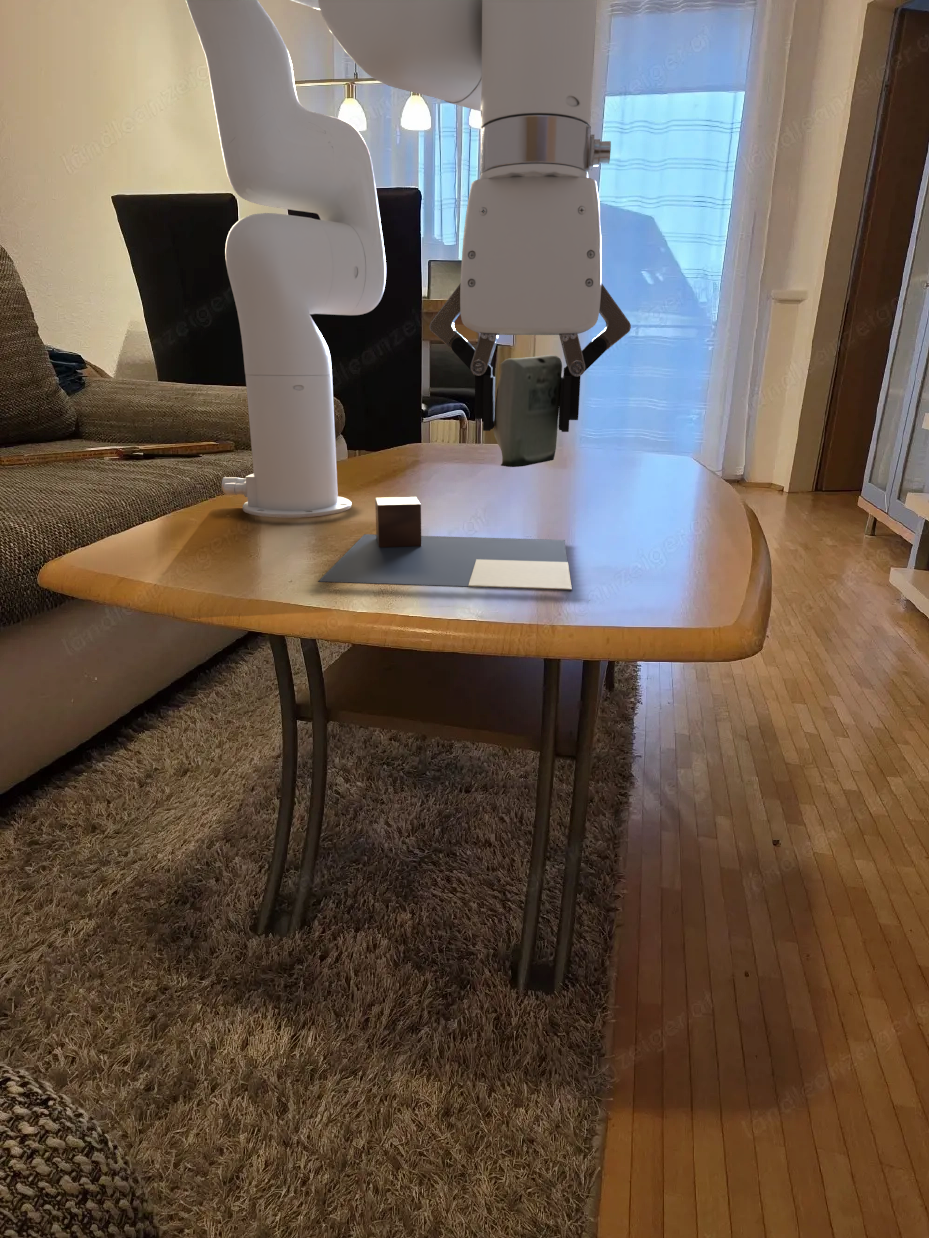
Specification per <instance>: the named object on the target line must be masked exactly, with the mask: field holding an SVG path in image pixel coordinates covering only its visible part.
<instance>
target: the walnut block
mask: <svg viewBox="0 0 929 1238" xmlns="http://www.w3.org/2000/svg"><path fill="white" fill-rule="evenodd" d="M374 503H375V504H374V507H375V535H376V538H377V542H378V545H379V547H410V546H421V536H422V504H421V503H420V501H419V499H418V497H417V496H388V497H387V496H386V497H384V496H383V497H375V498H374Z"/></svg>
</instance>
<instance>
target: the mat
mask: <svg viewBox="0 0 929 1238" xmlns="http://www.w3.org/2000/svg"><path fill="white" fill-rule="evenodd" d="M317 582H318V583H335V584H336V583H338V584H339V583H341V584H366V585H367V584H368V585H369V584H370V585H371V584H372V585H394V586H395V585H398V586H399V585H401V586H424V587H425V586H426V587H427V586H429V587H430V586H431V587H457V588H458V587H459V588H485V589H486V588H488V589H489V588H490V589H515V590H517V589H518V590H544V591H545V590H546V591H547V590H549V591H550V590H551V591H572V590H573V588H572V587H573V586H572V580H571V573H570V566H569V560H568V553H567V547H566V541H565V539H548V538H516V537H515V538H514V537H512V538H511V537H476V536H445V535H444V536H442V535H441V536H440V535H439V536H438V535H421V546H410V547H379V545H378V542H377V538H376V534H374V533H373V534H372V533H371V534H370V533H364V534H363V535H362V536H361V537H360V538H359V539H358V540H357V541H356V542H355V543H354V544H353V545H352V546H351V547H350V548H349V549H348V550H347V551H346V553H344V555H342V556H341V557H340V558H339V560H338V561H336V562H335V563H334V564H333V566H331V568H329V570H327V571H326V573H325V574H324V575H322V577H321V578H319V580H318V581H317Z"/></svg>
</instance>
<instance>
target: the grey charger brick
mask: <svg viewBox="0 0 929 1238" xmlns="http://www.w3.org/2000/svg"><path fill="white" fill-rule="evenodd" d="M499 371H500V373H499V379H498V384H497V389H496V394H495V418H494V428H493V435H494V438H495V440H496V443H497V445H498V447H499V449H500V451H501V463H500V466H502V467H506V468H520V467H528V466H531V465H536V464H537V465H538V464H541V463H547V462H551V461H554V460H555V455H556V450H557V441H558V439H557V438H558V430H559V428H558V425H559V404H560V384H561V377H562V373H563V361H562V358H560V357H559V356H558V355H554V354H546V355H539V356H529V357H515V358H514V357H512V358H510V357H509V358H506V359H504V360H503V361H502V362H500V368H499Z"/></svg>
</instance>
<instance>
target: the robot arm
mask: <svg viewBox="0 0 929 1238" xmlns="http://www.w3.org/2000/svg"><path fill="white" fill-rule="evenodd" d="M184 1H185V3H186V6H187V9H188V12H189V16H190V18H191V20H192V23H193V25H194V26H193V27H194V28H195V30H196V34H197V36H198V39H199V42H200V44H201V47H202V51H203V54H204V57H205V61H206V65H207V72H208V77H209V84H210V90H211V95H212V96H211V97H212V101H213V108H214V113H215V114H214V115H215V119H216V124H217V131H218V137H219V142H220V147H221V153H222V158H223V164H224V167H225V172H226V176H227V178H228V181H229V184H230V186H231V188H232V189H233V191H234V192H235V194H236V195H238V196H239V197H240V198H241V199H243V200H245V201H247V202H249V203H252V204H253V203H254V204H256V205H259V206H263V207H269V208H276V209H284V210H291V211H297V212H305V213H311V214H312V213H313V214H316V215H318V217H319V219H317V218H312V217H307V216H301V215H300V216H299V215H291V214H283V213H276V212H275V213H273V212H260V213H254V214H249V215H246V216H243V217H242V218H239V220H237V221H236V222H235V223H234V224H233V225H232V226H231V228H230V230H229V231H228V234H227V237H226V241H225V248H224V256H225V266H226V270H227V276H228V279H229V283H230V288H231V291H232V294H233V299H234V302H235V308H236V311H237V318H238V323H239V330H240V336H241V337H240V338H241V345H242V354H243V365H244V367H243V368H244V375H245V386H246V396H247V397H246V398H247V408H248V409H247V411H248V421H249V422H248V423H249V435H250V446H251V458H252V459H251V460H252V470H253V473H250V474H248V475H246V476H245V478H241V477H234V476H233V477H232V476H231V477H230V476H229V477H228V476H224V477H223V478H222V479H221V490H222V491H223V493H224V494H225V495H226V496H238V495H241V496H242V495H243V497H245V498H246V499H247V501H246V502H244V503H243V504H242V511H243V512H244V513H247V514H249V515H252V516H258V517H265V518H281V519H282V518H293V519H295V518H311V517H312V518H313V517H321V516H329V515H334V514H335V515H336V514H339V513H343V512H345V511H348V510H350V509H351V508H352V501H351V500H350V499H348V498H347V497H343V496H339V490H338V487H339V486H338V469H337V448H336V447H337V446H336V427H335V405H334V385H333V383H334V382H333V369H332V357H331V353H330V349H329V346H328V344H327V342H326V340H325V338H324V337H323V334H322V332H321V331H320V330H319V328H318V326H317V324H316V323H315V321H314V319H313V317H312V315H333V316H334V315H335V316H360V315H364V314H368V313H370V312H372V311H373V310H374V309H375V308H376V307H377V306H378V305H379V303H380V302H381V300H382V298H383V295H384V292H385V289H386V288H385V287H386V282H387V281H386V280H387V262H386V261H387V260H386V252H385V245H384V236H383V230H382V223H381V221H382V220H381V214H380V207H379V199H378V193H377V187H376V186H377V185H376V178H375V172H374V165H373V161H372V157H371V156H372V155H371V153H370V151H369V148H368V145H367V143H366V141H365V139H364V137H363V136H362V135H361V133H360V131H359V130H357V128H355V126H354V125H352V124H351V123H349V122H348V121H346V120H344V119H341V118H339V117H336V116H332V115H328V114H323V113H320V112H316V111H312V110H308V109H307V108H305V107H304V106H303V105H302V104H301V102H300V100H299V98H298V94H297V90H296V84H295V76H294V70H293V69H294V67H293V63H292V59H291V55H290V52H289V50H288V48H287V45H286V43H285V42H284V39H283V37H282V35H281V33H280V32H279V30H278V28H277V26H276V24H275V23H274V21H273V19H272V18H271V16H270V15H269V14H268V12H267V10H266V9H265V8H264V7H263V5H262V4H261V3H260V1H259V0H184ZM290 1H291V2H295V3H298V4H300V5H304V6H307V7H310V8H312V9H316V10H318V11H319V12H320V15H321V17H322V20H323V22H324V24H325V26H326V27H327V29H328V30H329V32H330V33H331V35H332V36H333V37H334V38H335V40H336V41H337V42H338V44H339V45H340V46H341V48H342V49H343V50H344V52H345V53H346V54H347V55H348V56H349V58H350V59H351V60H352V61H353V62H354V63H355V65H356V66H358V67H359V68H360V69H361V70H362V71H363V72H365V74H367V75H368V76H369V77H371V78H373V79H374V80H376V81H378V82H380V83H382V84H384V85H387V86H388V87H392V88H395V89H399V90H401V91H406V92H412V93H415V94H419V95H423V96H427V97H431V98H434V99H437V100H440V101H444V102H446V103H449V104H452V105H455V106H458V107H463V108H466V109H470V110H473V111H479V112H480V148H479V149H480V152H479V153H480V155H479V156H480V159H479V160H480V161H479V162H480V163H479V166H480V167H479V178H478V179H476V180H474V181H472V182H471V184H470V189H469V194H468V200H467V205H466V211H465V212H466V214H465V220H464V227H463V228H464V229H463V238H462V239H463V240H462V251H461V267H460V283H459V284H458V286H457V287H456V288H455V290H454V291H453V292H452V293H451V295H450V296H449V298H447V300H446V301H445V302H444V304H443V305H442V307H441V308H440V309H439V310H438V312H437V313H436V314H435V316H434V317H433V318H432V320H431V321H430V323H429V330H430V332H431V333H432V334H433V335H434V336H435V337H437V338H438V339H439V340H440V342H442V343H443V344H444V345H445V346H447V347H448V348H449V349H450V350H451V351H452V352H453V353H454V354H455V355H456V356H457V357H458V358H459V359H460V360H461V362H463V363H464V365H465V366H466V367H467V368H468V369H469V370H470V371H471V373H472V374H473V375H474V419H475V420H482V431H483V432H490V431H491V430H494V418H495V402H496V376H494V375H493V366H492V365H491V363H492V360H493V356H494V353H495V350H496V346H497V343H498V340H499V337H500V336H558V337H559V340H560V344H561V348H562V352H563V356H564V360H565V364H566V365H565V366H564V368H563V376H561V384H560V404H559V415H558V430H559V431H561V433H570V421H578V420H579V414H580V413H579V412H580V391H581V377H582V376H583V374H584V373H585V372H586V371H587V370H588V369H589V368H590V367H591V366H592V365H593V364H594V363H595V362H596V361H597V360H598V359H599V358H600V357H601V356H602V355H604V353H605V352H606V351H608V350H609V349H610V348H612V347H613V346H614V345H615V344H617V342H619V341H620V340H621V339H622V338H624V337H625V336H626V335H627V334H629V332H630V331H631V329H632V323H631V322H630V321H629V319H628V318H627V317H626V315H625V313H623V311H622V309H621V308H620V306H619V305H618V304H617V302H616V301H615V300H614V298H613V297H612V295H611V294H610V293H609V291H608V290H607V288H606V286H605V285H604V284H603V283H602V230H601V229H602V228H601V205H600V198H599V191H598V183H597V181H596V180H595V179H593V178H592V177H589V171H593V167H599V164H600V165H601V164H602V165H604V164H605V165H607V164H608V165H609V164H610V161H611V153H612V152H611V150H612V141H611V140H603V141H602V140H601V139H600V138H595V134H592V126H591V118H592V100H593V84H594V83H593V81H594V62H595V61H594V59H595V42H596V41H595V40H596V26H597V25H596V23H597V7H598V6H597V4H598V0H290ZM600 316H601V318H602V319H603V320H604V323H605V327H604V329H603V330H602V331H601V332H600V333H599V334H597V336H596V337H594V338H593V339H592V340H591V341H589V342H588V344H587V345H586V346H584V348H583V349H582V347H581V342H580V339H579V334H583V333H585V332H587V331H589V330H591V329H592V328H594V327H595V326H596V324H597V322H598V321H599V317H600ZM458 317H460V318H461V323H462V324H463V326H464V327H466V328H467V329H468V330H471V331H473V332H475V333H478V334H479V337H478V339H477V342H476V346H475V347H474V346H473V345H472V343H470V342H469V340H467V339H466V338H465V337H464V336H463V335H462V334H461V333H459V332H458V330H456V328H455V322H456V320H457V319H458Z"/></svg>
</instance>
